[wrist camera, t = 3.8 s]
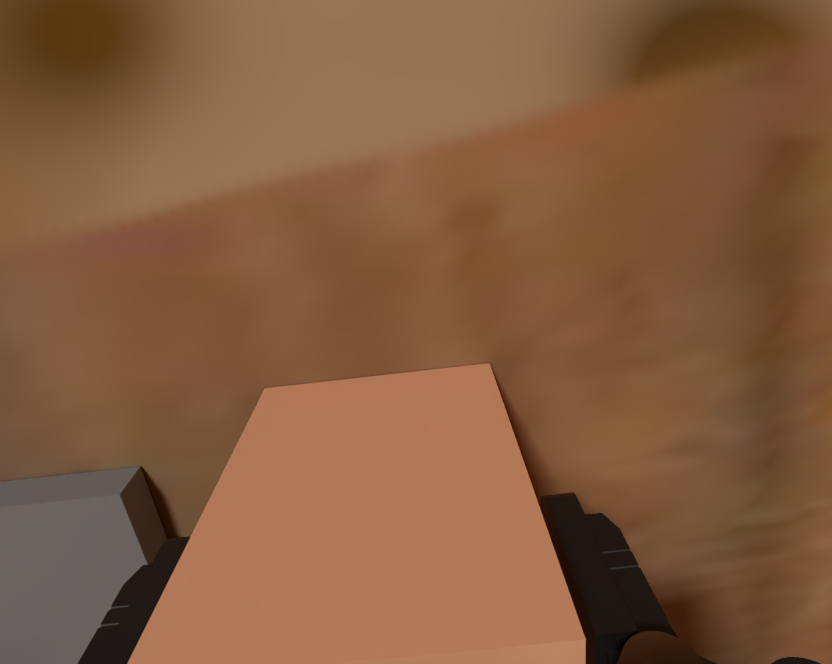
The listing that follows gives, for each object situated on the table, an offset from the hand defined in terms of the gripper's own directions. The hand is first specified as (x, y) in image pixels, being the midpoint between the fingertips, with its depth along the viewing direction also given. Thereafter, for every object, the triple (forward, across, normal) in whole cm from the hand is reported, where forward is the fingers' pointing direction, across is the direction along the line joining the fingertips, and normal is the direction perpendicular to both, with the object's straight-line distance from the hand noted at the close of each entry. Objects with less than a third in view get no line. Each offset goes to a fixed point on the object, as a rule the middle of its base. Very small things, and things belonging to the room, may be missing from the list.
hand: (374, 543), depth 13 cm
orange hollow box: (+3, 0, +2) cm, 3 cm away
